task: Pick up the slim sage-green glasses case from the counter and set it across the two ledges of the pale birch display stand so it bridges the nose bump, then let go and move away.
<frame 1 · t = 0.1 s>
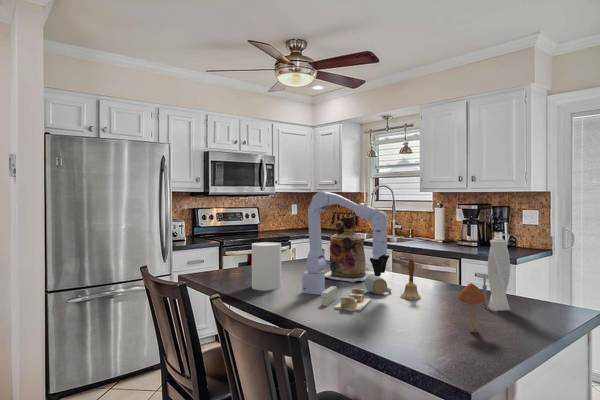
hand: (379, 274, 162), 10 cm above the counter, tool pointing down, fingers open, 7 cm apart
canister: (266, 287, 184), on the counter
ceramic mug: (378, 293, 173), on the counter
cookie jar: (347, 277, 207), on the counter
mushroom: (471, 332, 123), on the counter
white twisted vase: (497, 309, 148), on the counter
glasses case: (329, 302, 158), on the counter
hand bell: (410, 298, 164), on the counter
display stand: (353, 304, 154), on the counter
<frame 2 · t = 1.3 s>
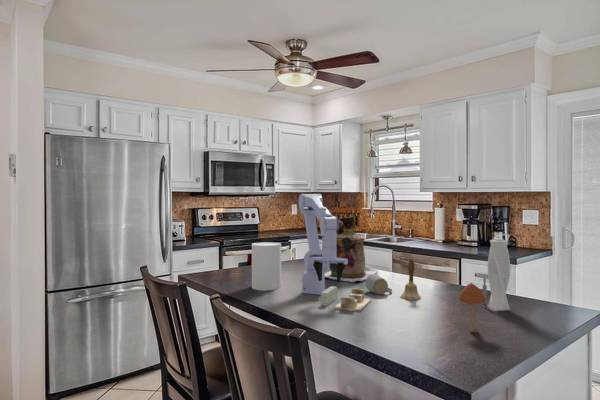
hand: (329, 281, 158), 8 cm above the counter, tool pointing down, fingers open, 7 cm apart
nothing on the counter moved.
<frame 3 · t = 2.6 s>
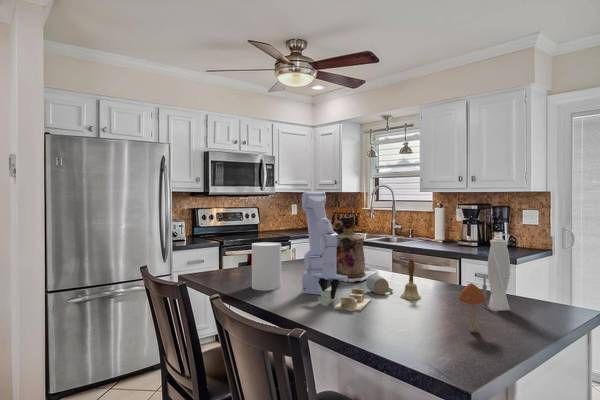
hand: (329, 298, 158), 1 cm above the counter, tool pointing down, fingers closed on glasses case, 2 cm apart
glasses case: (329, 301, 158), on the counter, touching gripper
everything else where it was.
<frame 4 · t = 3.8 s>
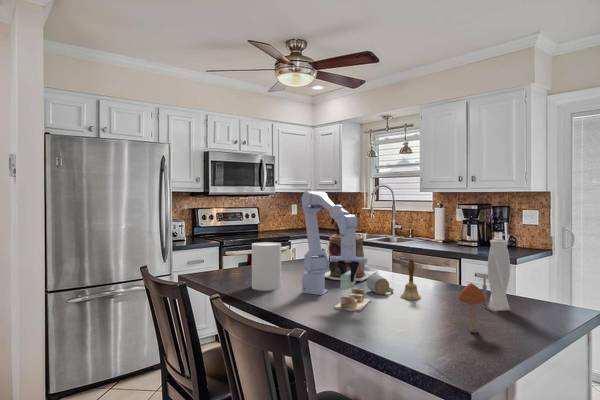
hand: (348, 281, 154), 9 cm above the counter, tool pointing down, fingers closed on glasses case, 2 cm apart
glasses case: (348, 286, 154), point 7 cm above the counter, touching gripper
everything else where it was.
when the fingers open (6 cm above the counter, at t = 4.7 s): glasses case stays where it is, resting on display stand.
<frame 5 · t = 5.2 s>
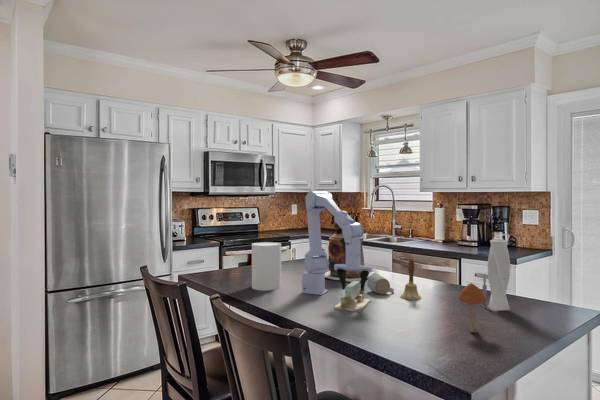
hand: (353, 289, 153), 6 cm above the counter, tool pointing down, fingers open, 7 cm apart
glasses case: (352, 297, 154), point 3 cm above the counter, touching display stand
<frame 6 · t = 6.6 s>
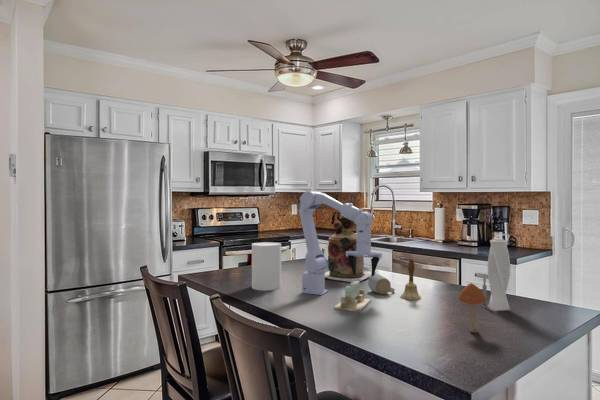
hand: (363, 274, 162), 10 cm above the counter, tool pointing down, fingers open, 7 cm apart
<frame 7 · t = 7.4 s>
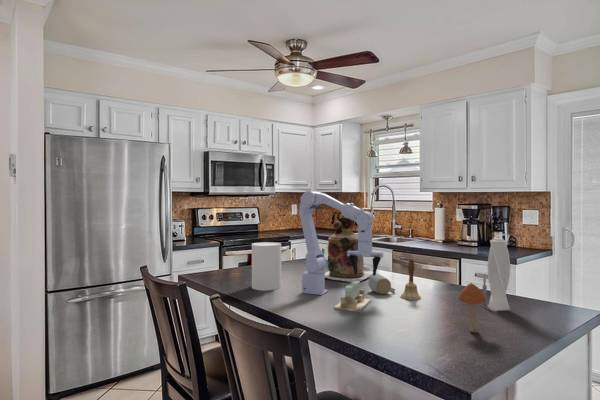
hand: (365, 274, 163), 10 cm above the counter, tool pointing down, fingers open, 7 cm apart
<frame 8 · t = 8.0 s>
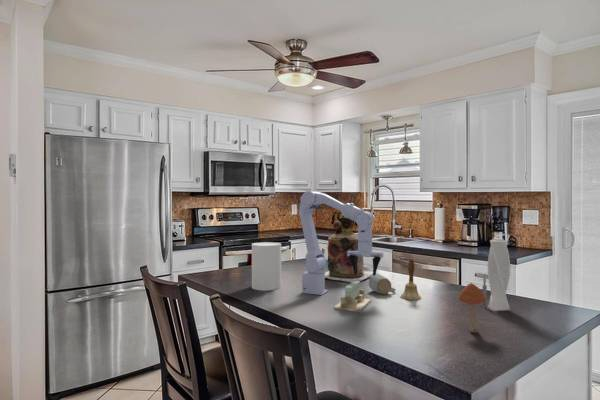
hand: (365, 274, 163), 10 cm above the counter, tool pointing down, fingers open, 7 cm apart
at the end: glasses case 0.1 cm off-centre on the display stand, point 3.0 cm above the display stand's base; glasses case tilted 0°; the gripper is holding nothing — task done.
